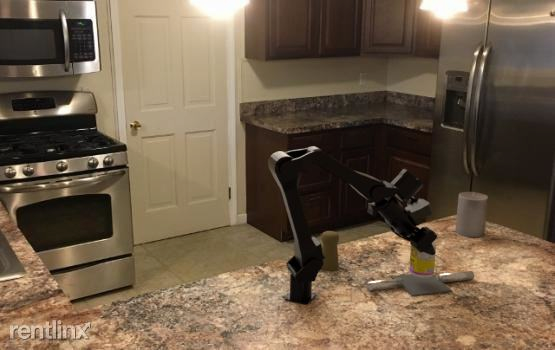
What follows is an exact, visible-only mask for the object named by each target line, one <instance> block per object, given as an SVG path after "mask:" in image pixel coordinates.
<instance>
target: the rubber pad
mask: <svg viewBox="0 0 555 350" xmlns="http://www.w3.org/2000/svg"><path fill="white" fill-rule="evenodd" d="M398 278H402V279H403V282H404V285H403V287H401V288H402V289H403V290H404V291H405V292H407V293H408V294H409V295H410V296H411V297H419V296H426V295H433V294H435V295H436V294H445V293H452V292H453V290H452V289H451V288H449V286H447V285H446V284H445V283H442V282H441V281H440V280H438V277H436V276H435V275H433V276H432V277H429V278H418V277H415V276H413V275H411V274H410V273H409V274H401V275H391V279H398Z"/></svg>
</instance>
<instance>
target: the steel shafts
mask: <svg viewBox="0 0 555 350" xmlns="http://www.w3.org/2000/svg"><path fill="white" fill-rule="evenodd" d="M474 278H475V273H474V271H473V270H465V271H456V272H455V271H454V272H447V273H439V274H438V276H437V279H438V280H440V281H441V282H442V283H443V284H445V283H450V282H451V283H452V282H461V281H470V280H474ZM403 285H404V282H403V279H402V278H398V279H392V278H391V279H390V278H389V279H379V280H372V281H371V280H370V281H366V282H365V288H366V291H379V290H387V289H396V288H398V289H399V288H402V287H403Z"/></svg>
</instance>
